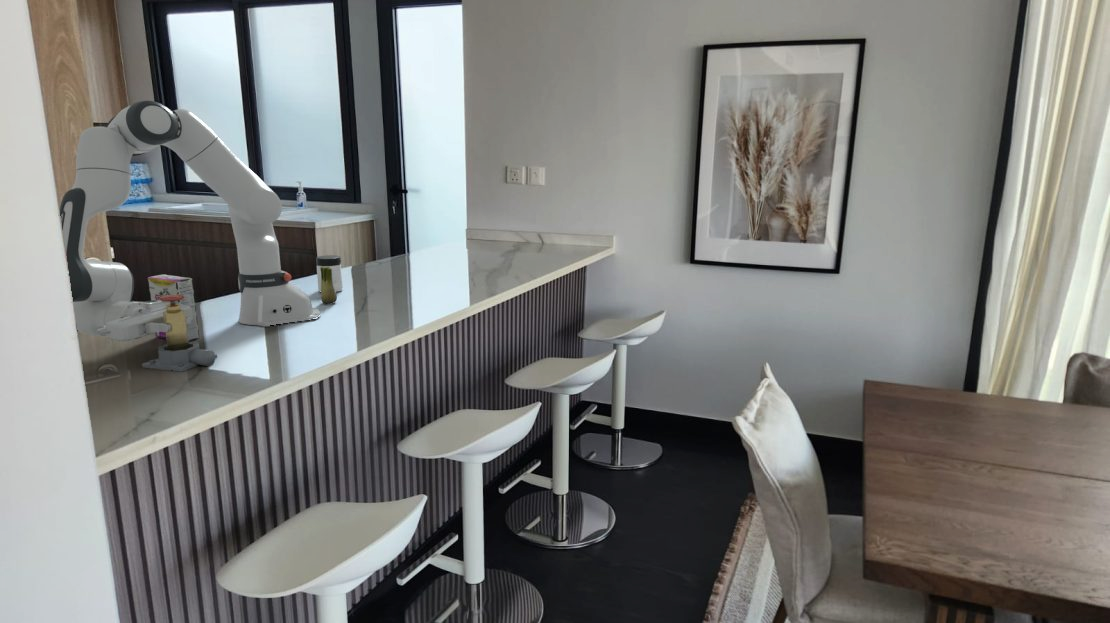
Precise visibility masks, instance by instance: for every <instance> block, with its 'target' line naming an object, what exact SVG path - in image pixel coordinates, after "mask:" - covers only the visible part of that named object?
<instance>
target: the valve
mask: <svg viewBox="0 0 1110 623" xmlns="http://www.w3.org/2000/svg"><path fill="white" fill-rule="evenodd" d="M182 299H184V295H181V294H172V295H165V296H161V297H160V300H161V301H170V304H168V305H166V308H167V311H165V312H163V316H164V323H170V324H171V328H172V330H170V331H168V332H166V339H165V340H166V345H167V347H168V351H177V350H185V349H188V348H189V342H190V341H188V334H187V326H186V318H185V310H181V309H180V304H175V301H177V300H182Z"/></svg>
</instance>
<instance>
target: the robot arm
mask: <svg viewBox="0 0 1110 623" xmlns="http://www.w3.org/2000/svg"><path fill="white" fill-rule="evenodd" d="M160 146H164V147H166V148H169V149H170V150H172V151H173V152H175V153H176V155H177V156H178V157H179V158H180V160H182V161H183V163H185V164H186V165H187V167H189V168H190V170H192V172H193V173H194V174H196V176H197V177H198V178H199V179H200V180H201V181H202V182H203V183H204V184H205V185H206V186H207V187H209V188H210V189H211V190H212V191H213V192H214V193H216V195H218V196H219V198H221V199H222V200H223V201H224V202H226V204H227V206H228V212H229V216H230V222H231V226H232V230H233V235H234V236H233V237H234V239H235V244H236V251H237V260H238V269H239V272H238V274H237V275H238V277H237V280H238V290H239V292H240V308H239V310H240V311H239V316H238V321H237V322H238V323H240V324H242V325H249V326H258V327H271V326H270V325H274V326H277V325H276V324H281V325H284V324H283V323H288V324H290V323H289V322H295V323H298V322H297V321H302V322H304V321H303V320H309V319H313V318H316V317H318V316H319V315H320V316H321V312H320V310H319V309H318V308H316V307H313V305H312V302H311V298H310V296H309V295H308V294H307V293H306V292H305V291H303V290H302V289H300V288H298V287H296V286H295V285H293V284H292V283H291V282H290V281H291V280H292V275H291V274H290V273H288V272H287V271H284V270H282V269H281V268H282V267H281V259H280V258H281V256H280V247H279V241H278V239H277V236H276V233H275V229H274V225H273V223H274V222H276V221H277V220H278V219H279V218H280V216H281V215H282V210H283V205H282V200H281V199H280V197H279V196H278V194H277V193H276V192H274V190H272V188H270V186H268V185H267V183H266V182H264V180H262V179H261V178H260V177H259V176H258V175H257V174H256V173H255V172H254V171H253V170H252V169H251V168H249V166H248V165H246V163H244V162H243V161H242V160H241V159H240V158H239V157H238V156H237V155H236V154H235V153H234V152H233V151H232V150H231V149H230V148H229V146H228V145H227V144H226V143H225V142H224V141H223V140H222V139H221V138H220V137H219V136H218V135H217V134H216V133H215V132H214V130H212V128H211V127H209V126H208V125H207V124H206V123H205V122H204V121H203V120H202V119H200V118H199V117H198V116H196V114H194V113H193V112H191V111H190V110H188V109H184V108H180V109H175V110H173V109H170V108H168V107H167V106H165V105H163V104H162V103H159V102H158V101H154V100H140V101H137V102H133V104H131V105H128V106H126V107H124V108H123V109H121V110H120V111H119V112H118V113H117V114H116V115H115V116H114V117H112V118H110V120H109V121H108V123H107V124H106V125H105V126H91V127H87V128H86V129H84V130H83V131H82V132H81V134H80V135H79V139H78V144H77V149H76V157H75V158H76V159H75V179H74V183H73V185H72V188H71V189H69V190H67V191H66V192H65V193H64V195H63V197H62V199H61V203H60V205H59V206H60V207H59V210H60V216H61V223H62V230H63V237H64V244H65V250H66V256H67V262H68V269H69V276H70V283H71V291H72V297H73V303H74V311H75V317H76V324H77V330H78V332H79V333H82V334H87V335H90V336H97V337H106V338H107V339H110V340H115V341H120V342H129V341H131V340H132V341H133V340H139V339H142V337H145V336H147V335H151V334H156V333H155V332H168V331H170V330H172V328H171V324H170V323H164V316H163V312H165V311H167V308H166V305H168V304H170V303H163V302H162V301H161V300H152V301H151V300H147V301H145V300H144V301H134V300H132V298H133V294H134V288H135V279H134V275H133V274H132V272H131V270H130V269H129V267H127V266H126V265H125V264H124V263H121V262H118V261H115V262H114V261H109V260H108V261H106V260H105V261H103V260H92V259H86V258H85V257H84V249H85V241H86V235H87V227H88V224H89V221H90V220H91V219H92V218H93V217H95V216H96V215H98V214H102V213H105V212H109V211H113V210H116V209H118V208H119V207H121V206H122V205H124V204H125V203H126V202H127V201H128V199H129V198H130V194H131V188H132V180H131V179H132V176H131V172H132V171H131V160H132V158H133V157H136V156H141V155H144V154H146V153H149V152H152V151H154V150H157V149H158V148H159V147H160ZM180 309H181V310H185V318H186V325H189V324H190V321H192V320H193V313H192V308H191V307H190V306H187V305H181V304H180ZM77 330H76V331H77Z"/></svg>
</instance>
